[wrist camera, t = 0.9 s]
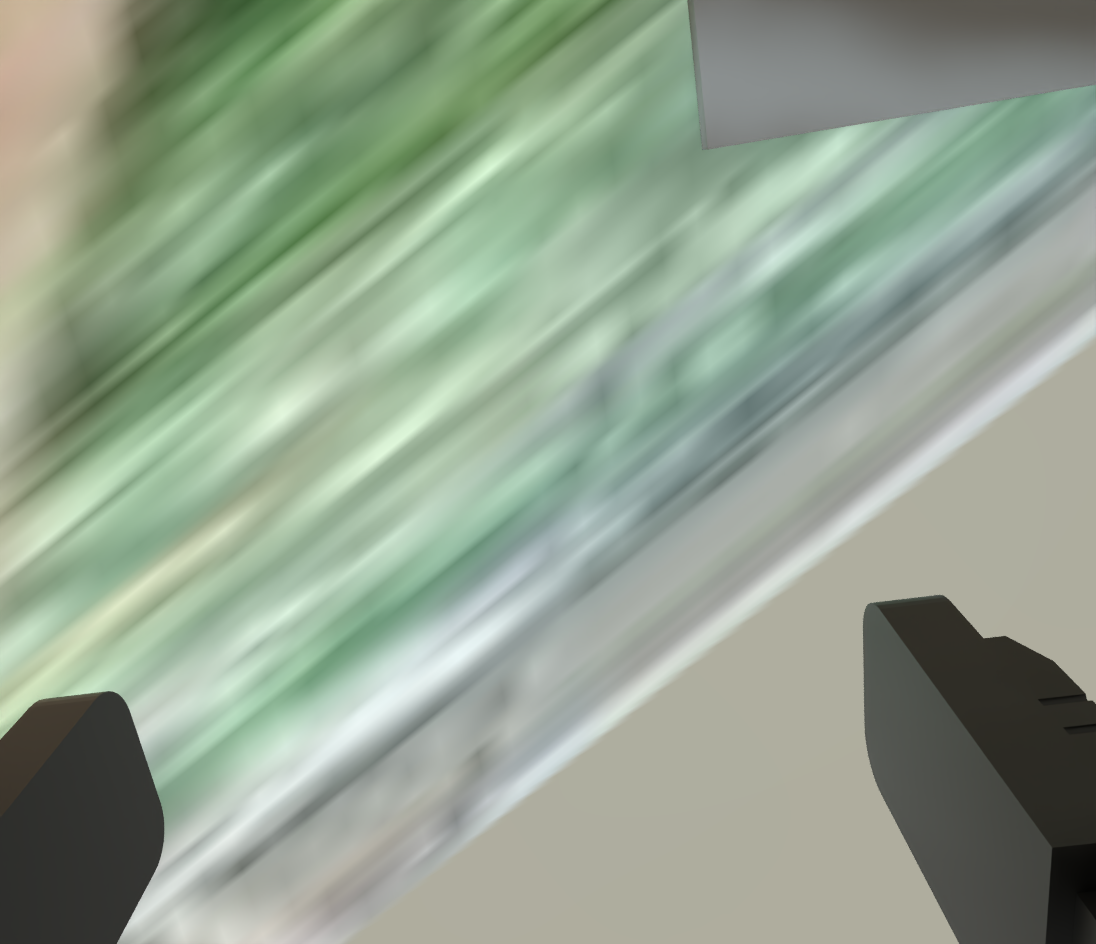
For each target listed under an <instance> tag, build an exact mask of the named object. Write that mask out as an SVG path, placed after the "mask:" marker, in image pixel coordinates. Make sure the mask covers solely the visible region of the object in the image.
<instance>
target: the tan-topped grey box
mask: <svg viewBox="0 0 1096 944" xmlns="http://www.w3.org/2000/svg"><path fill="white" fill-rule="evenodd" d="M688 9H689V19H690V29H691V40H692V50H693V60H694V70H695V80H696V90H697V101H698V111H699V121H700V131H701V141H702V150H704V149H713V148H719V147H725V146H731V145H737V144H743V143H749V142H755V141H761V140H767V139H773V138H779V137H785V136H791V135H797V134H803V133H809V132H815V131H821V130H827V129H833V128H839V127H845V126H851V125H857V124H862V123H868V122H874V121H880V120H886V119H892V118H898V117H904V116H910V115H916V114H922V113H928V112H934V111H940V110H946V109H952V108H958V107H964V106H970V105H976V104H982V103H988V102H994V101H1000V100H1006V99H1012V98H1018V97H1024V96H1030V95H1036V94H1042V93H1048V92H1054V91H1060V90H1066V89H1072V88H1078V87H1084V86H1090V85H1096V0H688Z"/></svg>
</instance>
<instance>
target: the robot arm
mask: <svg viewBox="0 0 1096 944" xmlns="http://www.w3.org/2000/svg"><path fill="white" fill-rule="evenodd" d="M863 650H864V651H863V652H864V653H863V654H864V713H865V715H864V716H865V737H866V745H867V751H868V756H869V760H870V764H871V768H872V771H873V775H874V778H875V781H876V783H877V786H878V788H879V790H880V792H881V794H882V796H883V798H884V800H885V802H886V804H887V806H888V808H889V809H890V811H891V814H892V815H893V817H894V819H895V821H896V823H897V825H898V827H899V829H900V831H901V833H902V835H903V836H904V839H905V840H906V842H907V844H908V846H909V848H910V850H911V852H912V854H913V856H914V858H915V860H916V861H917V864H918V865H919V867H920V869H921V871H922V873H923V875H924V877H925V879H926V881H927V883H928V885H929V886H930V888H931V890H932V892H933V894H934V896H935V898H936V900H937V902H938V904H939V906H940V908H941V909H942V911H943V913H944V915H945V917H946V919H947V921H948V923H949V925H950V927H951V929H952V930H953V932H954V934H955V936H956V938H957V940H958V942H959V944H1096V704H1095V703H1094V702H1093V701H1087V699H1086V694H1085V693H1084V692H1083V691H1082V690H1081V689H1080V687H1079V686H1078V685H1076V684H1075V683H1074V682H1073V680H1072V679H1071V678H1070V677H1069V676H1068V675H1067V674H1066V673H1065V672H1064V671H1063V670H1062V669H1061V668H1060V667H1059V666H1058V665H1057V664H1056V663H1055V662H1054V661H1052V660H1050V659H1048V658H1046V657H1044V656H1043V655H1041V654H1039V653H1037V652H1035V651H1033V650H1031V649H1029V648H1027V647H1026V646H1024V645H1022V644H1020V643H1018V642H1016V641H1014V640H1012V639H1010V638H1008V637H1006V636H1001V637H993V638H983V637H982V636H981V635H980V634H979V633H978V632H977V631H976V629H975V628H974V627H973V626H972V625H971V624H970V623H969V622H968V621H967V620H966V618H965V617H964V616H963V615H962V614H961V613H960V612H959V611H958V609H957V608H956V607H955V606H954V605H953V604H952V603H951V601H949V599H947V598H946V597H945V596H943V595H934V596H926V597H918V598H909V599H902V600H892V601H885V602H876V603H870V604H868V605H867V606H866V609H865V612H864V619H863ZM163 842H164V817H163V811H162V807H161V803H160V800H159V797H158V794H157V791H156V788H155V785H154V782H153V779H152V776H151V773H150V770H149V767H148V764H147V761H146V758H145V755H144V752H143V749H142V746H141V743H140V740H139V737H138V734H137V731H136V728H135V725H134V722H133V719H132V716H131V713H130V711H129V708H128V706H127V704H126V702H125V701H124V700H123V698H122V697H121V696H120V695H118V694H117V693H115V692H110V691H107V692H99V693H91V694H82V695H74V696H65V697H57V698H48V699H42V700H39V701H37V702H36V703H34V704H33V705H32V706H31V707H30V708H29V709H28V710H27V711H26V712H25V713H24V714H23V715H22V717H21V718H20V719H19V720H18V721H17V722H16V723H15V724H14V725H13V726H12V728H11V729H10V730H9V731H8V732H7V733H6V734H5V735H4V736H3V737H2V739H1V740H0V944H117V942H118V940H119V938H120V936H121V934H122V933H123V931H124V929H125V927H126V925H127V923H128V921H129V919H130V918H131V916H132V914H133V912H134V910H135V908H136V906H137V904H138V902H139V901H140V899H141V897H142V895H143V893H144V891H145V889H146V887H147V886H148V884H149V882H150V880H151V878H152V876H153V874H154V872H155V870H156V868H157V866H158V863H159V860H160V857H161V853H162V848H163Z"/></svg>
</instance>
